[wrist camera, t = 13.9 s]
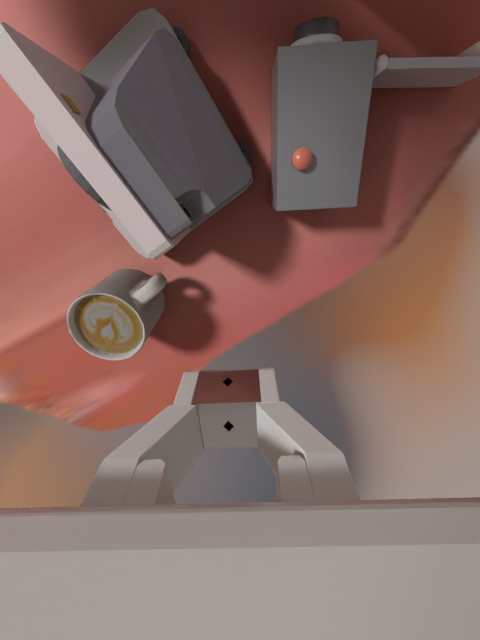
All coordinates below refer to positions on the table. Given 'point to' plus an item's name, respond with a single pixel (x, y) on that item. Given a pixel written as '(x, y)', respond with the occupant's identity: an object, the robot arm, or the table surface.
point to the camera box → (319, 117)
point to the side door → (427, 70)
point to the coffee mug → (117, 314)
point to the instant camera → (134, 129)
